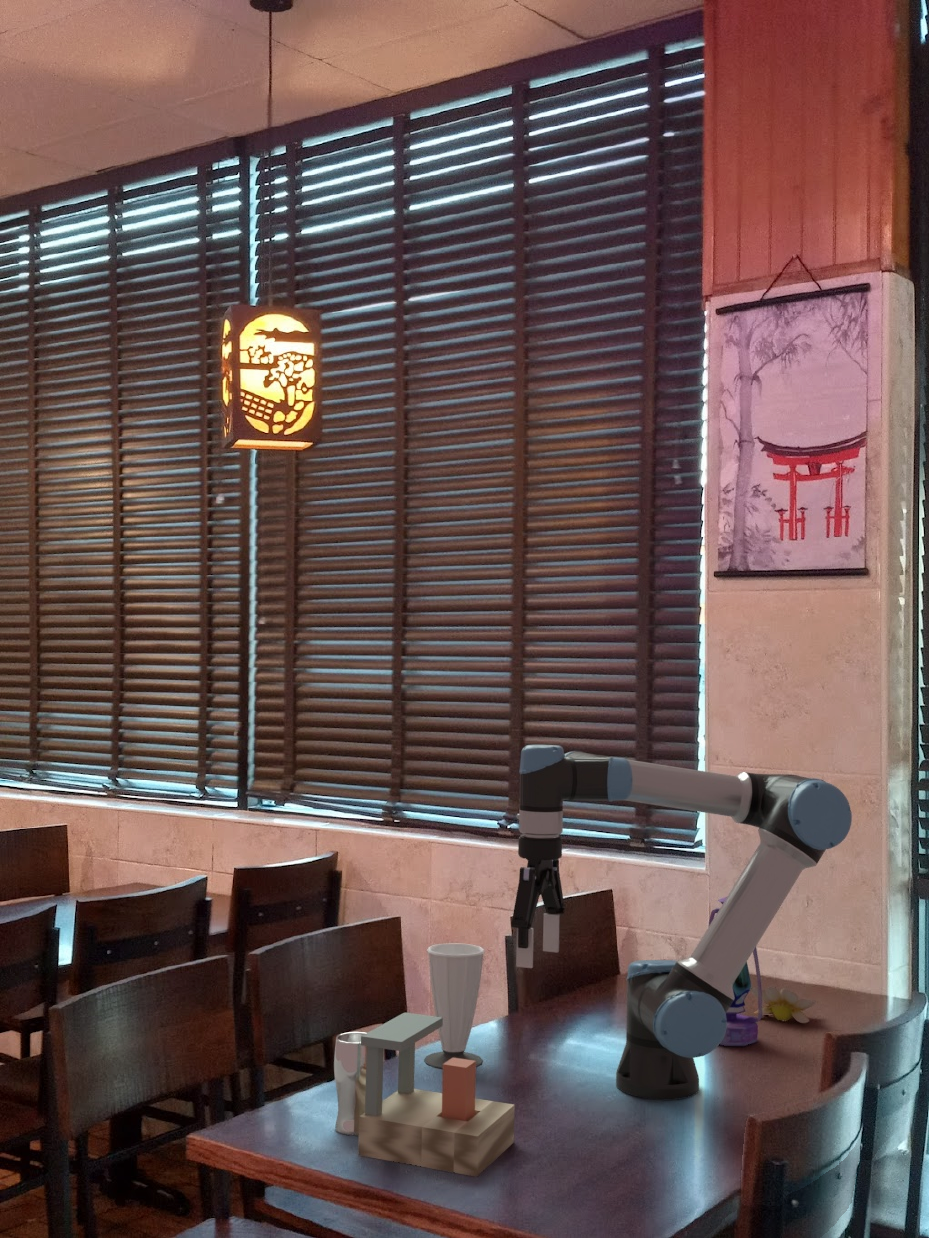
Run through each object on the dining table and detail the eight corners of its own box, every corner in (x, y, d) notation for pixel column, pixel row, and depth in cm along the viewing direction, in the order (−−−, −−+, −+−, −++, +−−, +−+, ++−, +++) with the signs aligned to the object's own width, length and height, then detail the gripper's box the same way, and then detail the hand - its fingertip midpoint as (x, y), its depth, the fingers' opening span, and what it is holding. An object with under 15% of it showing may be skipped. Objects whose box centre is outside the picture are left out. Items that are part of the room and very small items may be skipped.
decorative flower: (832, 1011, 293) (826, 968, 291) (815, 1034, 283) (808, 990, 282) (769, 1004, 301) (762, 963, 300) (750, 1026, 292) (743, 984, 291)
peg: (474, 1149, 209) (475, 1060, 209) (464, 1158, 205) (466, 1067, 206) (450, 1145, 210) (452, 1057, 211) (440, 1154, 207) (442, 1064, 207)
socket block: (513, 1142, 212) (514, 1104, 213) (476, 1176, 198) (477, 1136, 198) (402, 1123, 220) (402, 1086, 220) (358, 1155, 205) (359, 1116, 206)
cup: (490, 1056, 259) (492, 945, 260) (471, 1072, 248) (474, 957, 249) (435, 1049, 263) (438, 940, 264) (415, 1065, 252) (417, 952, 253)
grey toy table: (441, 1092, 218) (442, 1017, 218) (399, 1123, 203) (401, 1041, 203) (402, 1086, 220) (404, 1012, 221) (359, 1116, 206) (361, 1036, 206)
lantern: (692, 1043, 271) (694, 897, 272) (703, 1029, 282) (705, 888, 283) (757, 1051, 266) (758, 902, 267) (766, 1037, 277) (768, 894, 278)
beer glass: (332, 1121, 220) (335, 1031, 221) (374, 1121, 221) (376, 1031, 221) (332, 1136, 213) (334, 1043, 214) (375, 1136, 214) (377, 1043, 214)
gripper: (543, 825, 240) (541, 943, 239) (493, 841, 217) (491, 971, 216) (583, 828, 237) (580, 947, 236) (536, 844, 214) (534, 976, 213)
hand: (538, 959), depth 226 cm, fingers open, 13 cm apart
